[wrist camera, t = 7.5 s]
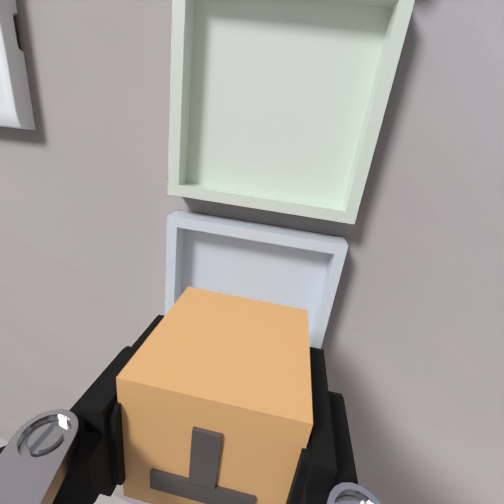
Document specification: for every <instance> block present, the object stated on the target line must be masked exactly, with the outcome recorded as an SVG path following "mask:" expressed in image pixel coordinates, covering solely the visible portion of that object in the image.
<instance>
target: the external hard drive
mask: <svg viewBox="0 0 504 504" xmlns="http://www.w3.org/2000/svg"><path fill="white" fill-rule="evenodd" d="M16 15H17V7H16V1H15V0H0V126H1V127H9V128H18V129H29V130H35V129H36V128H35V122H34V116H33V110H32V104H31V97H30V91H29V84H28V78H27V72H26V65H25V59H24V53H23V51H22V50H21V49H20V48H19V45H18V39H17V32H16V28H15V22H14V18H15V16H16Z"/></svg>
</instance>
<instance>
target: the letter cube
mask: <svg viewBox="0 0 504 504" xmlns="http://www.w3.org/2000/svg"><path fill="white" fill-rule="evenodd" d="M116 384H117V399H118V402H119V403H121V412H122V428H123V445H124V461H125V478H126V480H125V482H124V483H123V490H124V496H127V497H130V498H134V499H137V500H141V501H144V502H148V503H151V504H286V501H287V498H288V494H289V491H290V487H291V484H292V480H293V477H294V474H295V470H296V467H297V463H298V460H299V457H300V453H301V450H302V448H305V449H306V446H307V443H308V440H309V436H310V433H311V430H312V426H313V411H312V390H311V369H310V347H309V326H308V310H305V309H300V308H295V307H289V306H284V305H279V304H274V303H269V302H264V301H259V300H254V299H249V298H244V297H239V296H234V295H229V294H224V293H219V292H213V291H208V290H203V289H198V288H193V287H187V289H186V290H185V291H184V292H183V294H182V295H181V296H180V297H179V299H178V300H177V301H176V303H175V304H174V305H173V306H172V308H171V309H170V310H169V311H168V313H167V314H166V315H165V316H164V318H163V319H162V320H161V321H160V323H159V324H158V325H157V327H156V328H155V329H154V330H153V332H152V333H151V334H150V335H149V337H148V338H147V339H146V340H145V342H144V343H143V344H142V345H141V347H140V348H139V349H138V350H137V352H136V353H135V354H134V356H133V357H132V358H131V359H130V361H129V362H128V363H127V364H126V366H125V367H124V368H123V369H122V371H121V372H120V373H119V374H118V376H117V377H116Z"/></svg>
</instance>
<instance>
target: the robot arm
mask: <svg viewBox="0 0 504 504" xmlns="http://www.w3.org/2000/svg"><path fill="white" fill-rule="evenodd" d="M163 318H164V316H162V315H158V316H157V317H156V318H155V319H154V321H153V322H152V323H151V324H150V325H149V327H148V328H147V329H146V330H145V331H144V332H143V334H142V335H141V336H140V337H139V338H138V340H137V341H136V342H135V343H134V344H133V346H132V347H129V346H127V347H125V348H124V349H123V350H122V351H121V352H120V353H119V354H118V355H117V356H116V358H115V359H114V360H113V361H112V362H111V363H110V364H109V366H108V367H107V368H106V369H105V370H104V371H103V372H102V374H101V375H100V376H99V377H98V378H97V379H96V381H95V382H94V383H93V384H92V385H91V386H90V387H89V389H88V390H87V391H86V392H85V393H84V394H83V395H82V397H81V398H80V399H79V400H78V401H77V402H76V404H75V405H74V406H73V407H72V408H71V409H70V410H69V411H68V410H63V409H58V410H51V411H47V412H44V413H41V414H39V415H37V416H35V417H34V418H32V419H30V420H29V421H28V422H26V423H25V424H24V425H22V426H21V427H20V429H19V430H18V431H17V432H16V433H15V434H14V436H13V437H12V438H11V440H10V441H9V442H8V444H7V445H6V446H3V447H1V448H0V504H93V503H95V501H96V499H97V497H98V496H99V494H103V495H106V496H111V495H112V493H113V491H114V489H115V487H116V485H117V484H118V485H122V484H123V483H124V482H125V480H126V478H125V461H124V445H123V428H122V412H121V403H119V402H118V399H117V384H116V377H117V376H118V374H119V373H120V372H121V371H122V369H123V368H124V367H125V366H126V364H127V363H128V362H129V361H130V359H131V358H132V357H133V356H134V354H135V353H136V352H137V350H138V349H139V348H140V347H141V345H142V344H143V343H144V342H145V340H146V339H147V338H148V337H149V335H150V334H151V333H152V332H153V330H154V329H155V328H156V327H157V325H158V324H159V323H160V321H161V320H162V319H163ZM309 347H310V346H309ZM310 369H311V390H312V411H313V426H312V430H311V433H310V436H309V440H308V443H307V446H306V449H305V448H302V450H301V453H300V457H299V460H298V463H297V467H296V470H295V474H294V477H293V480H292V484H291V487H290V491H289V494H288V498H287V501H286V504H381V503H380V502H379V500H378V499H377V498H376V497H375V496H374V495H373V494H372V493H371V492H370V491H368V490H367V489H365V488H363V487H362V486H360V485H358V480H357V475H356V469H355V463H354V457H353V451H352V445H351V440H350V434H349V428H348V422H347V416H346V410H345V405H344V399H343V396H342V394H339V393H334V392H330V391H328V385H327V376H326V368H325V359H324V351H323V349H319V348H314V347H310Z"/></svg>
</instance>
